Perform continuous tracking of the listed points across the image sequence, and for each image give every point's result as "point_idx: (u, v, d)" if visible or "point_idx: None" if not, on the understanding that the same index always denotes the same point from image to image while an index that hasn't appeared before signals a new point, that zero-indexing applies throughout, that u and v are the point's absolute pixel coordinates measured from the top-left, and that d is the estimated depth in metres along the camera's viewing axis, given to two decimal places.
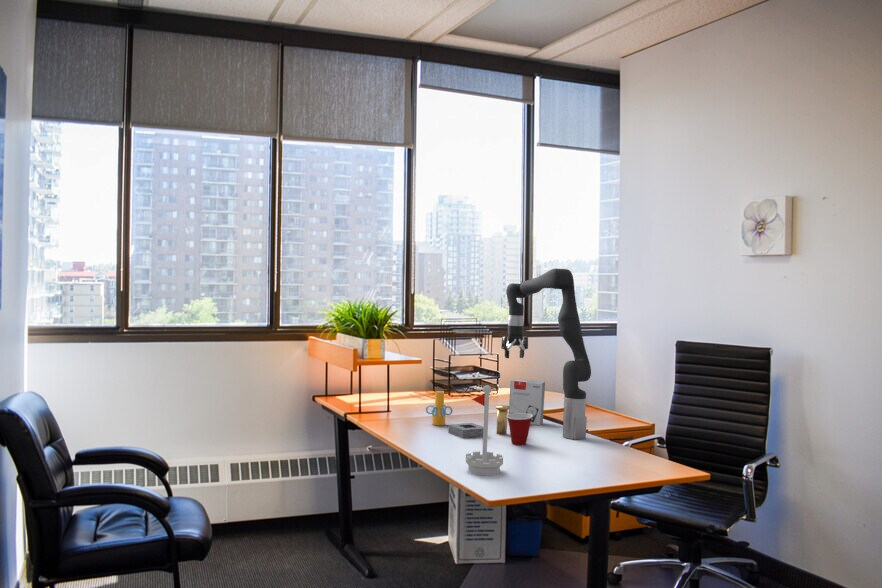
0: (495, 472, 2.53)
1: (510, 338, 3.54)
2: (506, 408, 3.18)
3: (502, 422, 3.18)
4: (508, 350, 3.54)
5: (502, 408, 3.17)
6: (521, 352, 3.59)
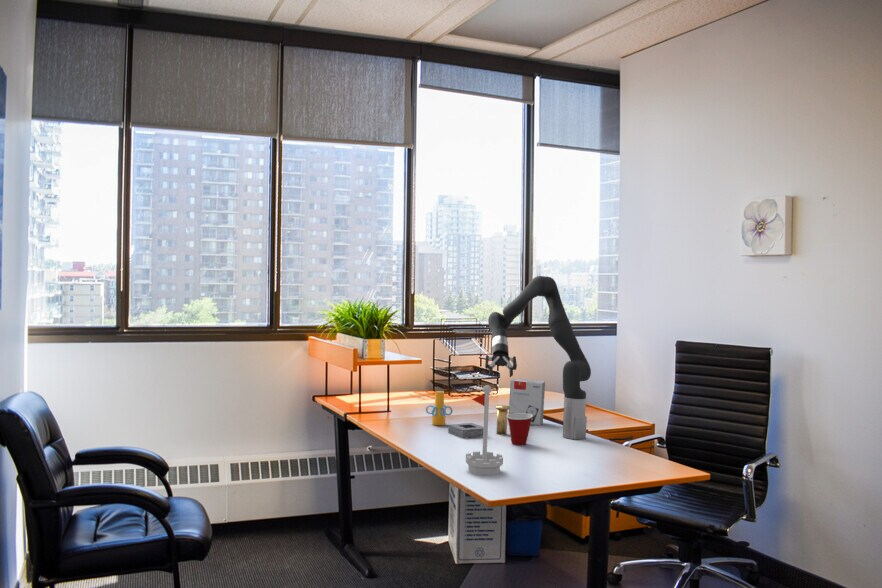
0: (495, 472, 2.53)
1: (493, 357, 3.37)
2: (506, 408, 3.18)
3: (502, 422, 3.18)
4: (491, 366, 3.33)
5: (502, 408, 3.17)
6: (509, 370, 3.33)
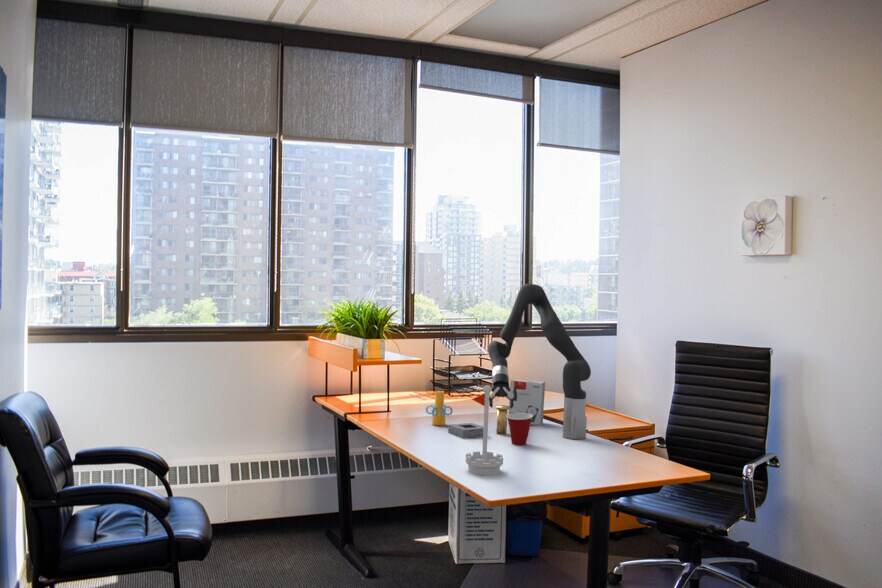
0: (495, 472, 2.53)
1: (493, 387, 3.31)
2: (506, 408, 3.18)
3: (502, 422, 3.18)
4: (491, 397, 3.27)
5: (502, 408, 3.17)
6: (510, 402, 3.27)
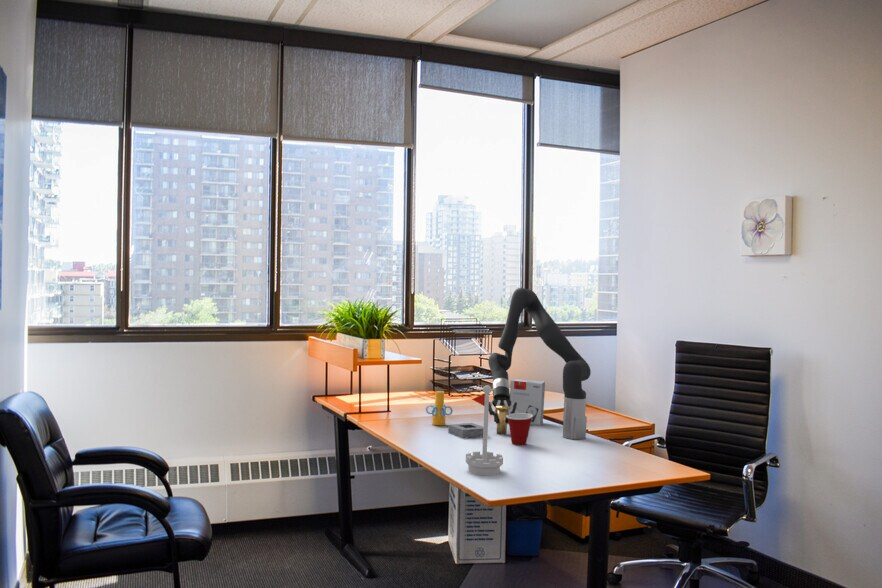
0: (495, 472, 2.53)
1: (494, 401, 3.25)
2: (506, 408, 3.18)
3: (502, 422, 3.18)
4: (496, 413, 3.20)
5: (502, 408, 3.17)
6: None
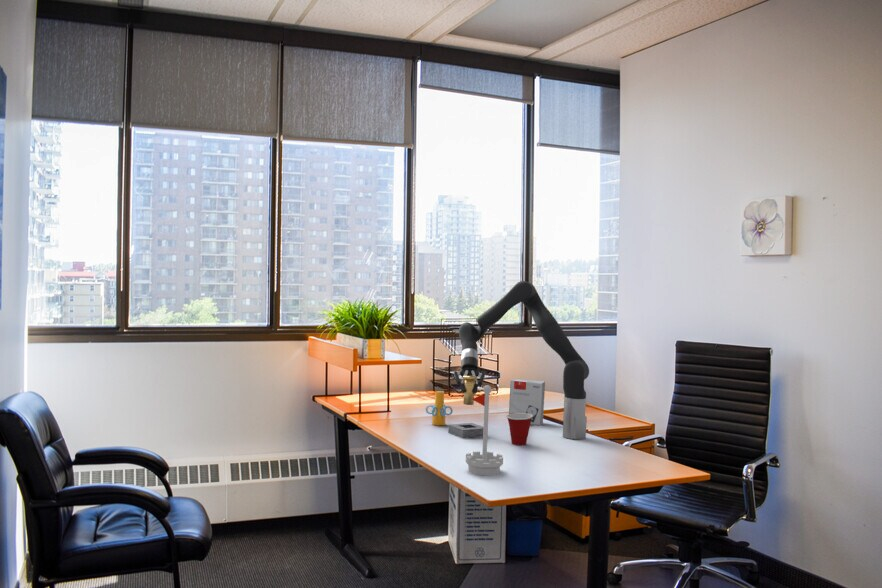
0: (495, 472, 2.53)
1: (461, 371, 3.21)
2: (473, 378, 3.14)
3: (468, 392, 3.14)
4: (463, 383, 3.16)
5: (469, 378, 3.13)
6: (474, 387, 3.16)
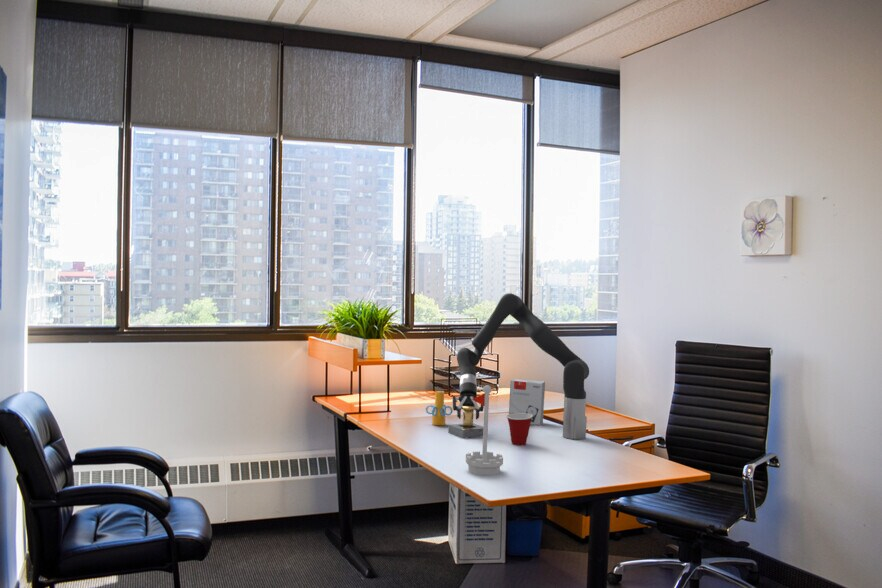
0: (495, 472, 2.53)
1: (460, 397, 3.20)
2: (472, 408, 3.14)
3: (467, 422, 3.14)
4: (459, 408, 3.16)
5: (468, 408, 3.13)
6: (476, 412, 3.16)
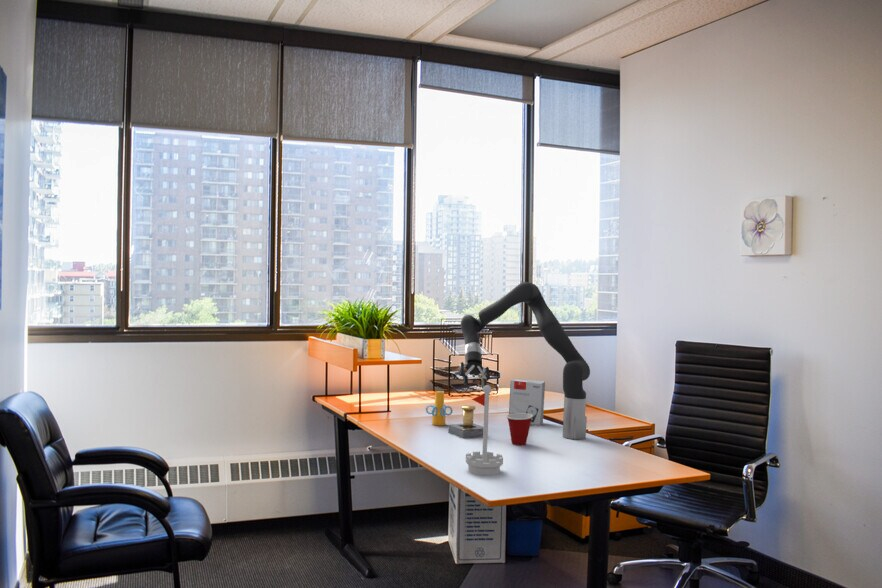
0: (495, 472, 2.53)
1: (467, 364, 3.30)
2: (472, 408, 3.14)
3: (467, 422, 3.14)
4: (466, 375, 3.26)
5: (468, 408, 3.13)
6: (483, 381, 3.29)
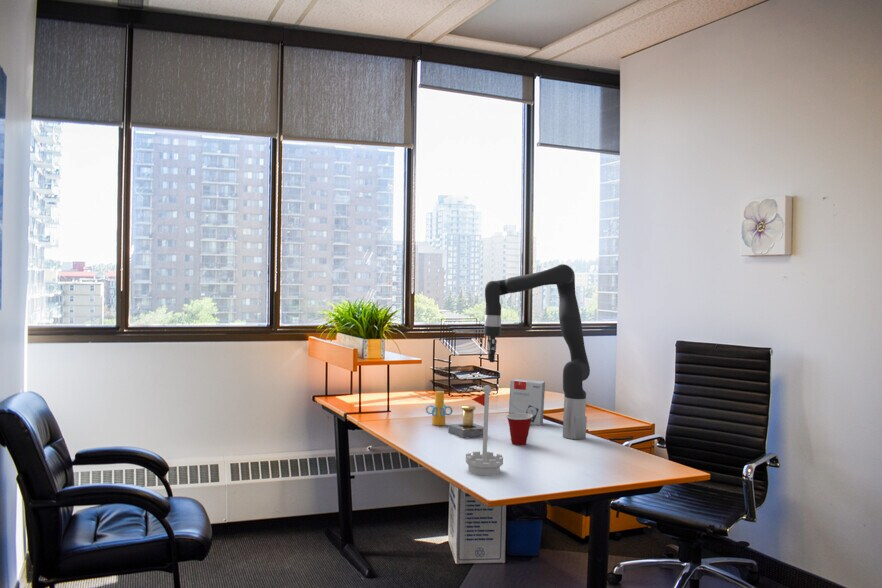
0: (495, 472, 2.53)
1: None
2: (472, 408, 3.14)
3: (467, 422, 3.14)
4: None
5: (468, 408, 3.13)
6: None
